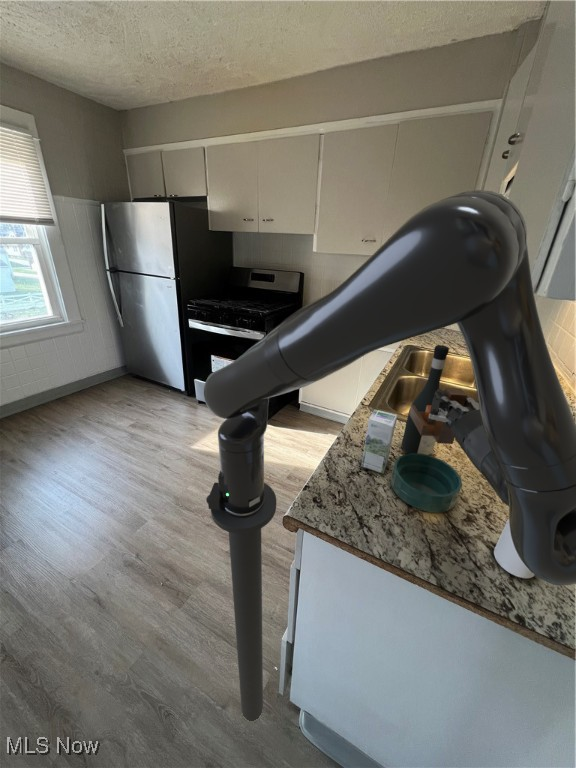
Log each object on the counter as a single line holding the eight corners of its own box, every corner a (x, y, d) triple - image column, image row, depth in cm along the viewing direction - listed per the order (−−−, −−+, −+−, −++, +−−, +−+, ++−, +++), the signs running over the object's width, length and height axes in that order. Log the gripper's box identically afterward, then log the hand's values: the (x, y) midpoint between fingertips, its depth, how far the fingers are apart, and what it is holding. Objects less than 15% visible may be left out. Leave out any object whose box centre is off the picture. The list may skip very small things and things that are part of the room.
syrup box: (388, 461, 81) (398, 413, 75) (383, 475, 77) (393, 425, 70) (366, 454, 84) (374, 407, 78) (360, 467, 79) (368, 418, 73)
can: (513, 543, 60) (536, 497, 55) (544, 576, 55) (573, 527, 49) (484, 549, 59) (505, 502, 54) (513, 583, 53) (540, 534, 48)
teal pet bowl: (398, 511, 67) (403, 493, 65) (384, 467, 79) (388, 451, 77) (467, 516, 66) (473, 499, 64) (442, 471, 79) (446, 455, 77)
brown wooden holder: (465, 445, 62) (481, 396, 58) (424, 442, 63) (437, 393, 58) (443, 415, 73) (455, 372, 68) (408, 413, 73) (418, 370, 69)
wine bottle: (437, 452, 86) (467, 347, 73) (422, 464, 81) (451, 354, 68) (410, 438, 91) (434, 339, 78) (395, 448, 86) (417, 345, 74)
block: (442, 424, 68) (445, 412, 66) (428, 423, 68) (431, 411, 66) (437, 417, 70) (440, 405, 69) (423, 416, 70) (426, 405, 69)
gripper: (549, 426, 45) (488, 378, 61) (449, 420, 46) (415, 374, 62) (530, 467, 48) (477, 412, 64) (437, 461, 49) (407, 407, 65)
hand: (447, 393), depth 63 cm, fingers closed on brown wooden holder, 3 cm apart
